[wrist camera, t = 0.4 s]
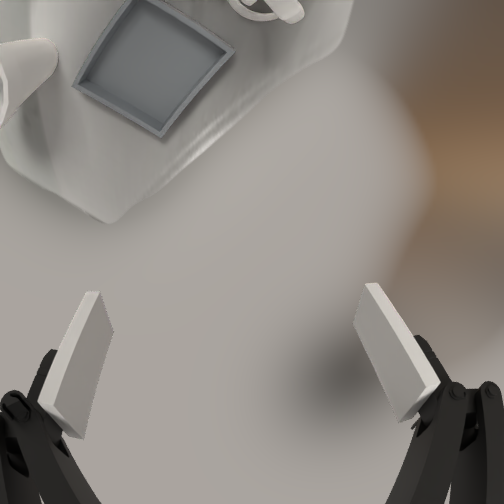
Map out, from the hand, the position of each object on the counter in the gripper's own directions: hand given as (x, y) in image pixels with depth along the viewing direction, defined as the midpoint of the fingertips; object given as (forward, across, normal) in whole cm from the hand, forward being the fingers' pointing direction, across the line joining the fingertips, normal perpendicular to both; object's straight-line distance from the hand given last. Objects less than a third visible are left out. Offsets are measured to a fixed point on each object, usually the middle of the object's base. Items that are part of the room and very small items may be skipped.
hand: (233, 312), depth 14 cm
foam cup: (+23, -24, +18) cm, 38 cm away
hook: (+22, +3, +23) cm, 32 cm away
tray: (+24, -9, +15) cm, 30 cm away
